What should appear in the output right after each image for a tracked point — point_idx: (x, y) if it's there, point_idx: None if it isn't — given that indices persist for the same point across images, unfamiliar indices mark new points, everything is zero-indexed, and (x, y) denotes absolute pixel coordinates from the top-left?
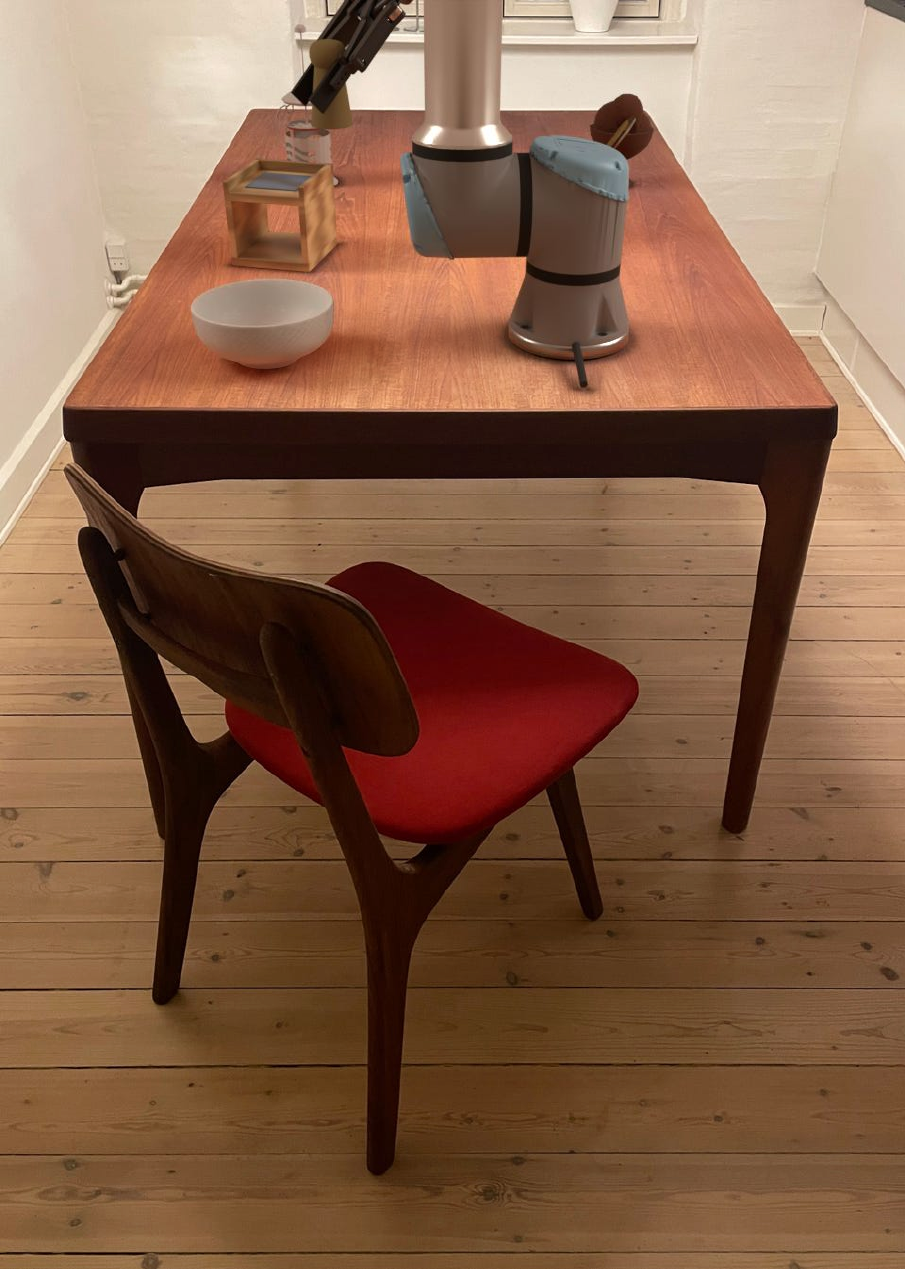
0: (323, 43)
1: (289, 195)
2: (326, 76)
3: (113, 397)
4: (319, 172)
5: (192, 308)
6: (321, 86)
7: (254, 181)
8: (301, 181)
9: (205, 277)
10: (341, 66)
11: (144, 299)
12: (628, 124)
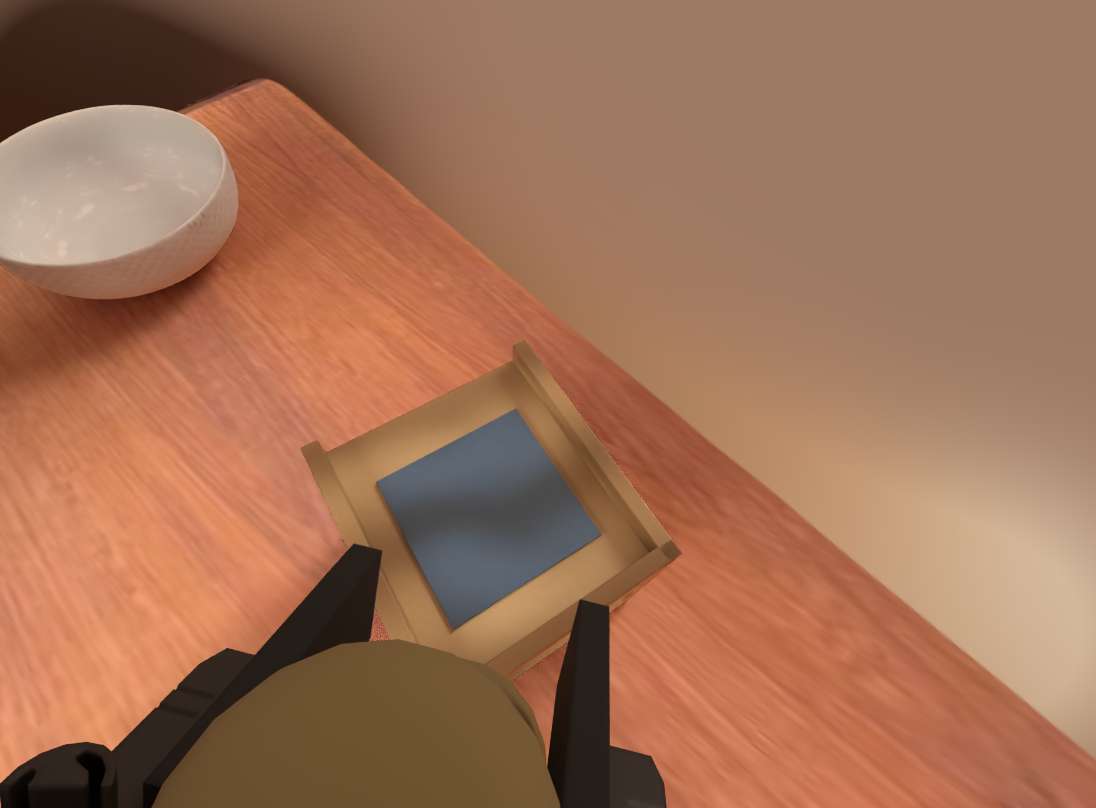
0: (272, 747)
1: (363, 447)
2: (267, 655)
3: (251, 103)
4: (380, 598)
5: (190, 119)
6: (298, 606)
7: (537, 453)
8: (431, 554)
9: None
10: (131, 796)
11: (488, 259)
12: None
